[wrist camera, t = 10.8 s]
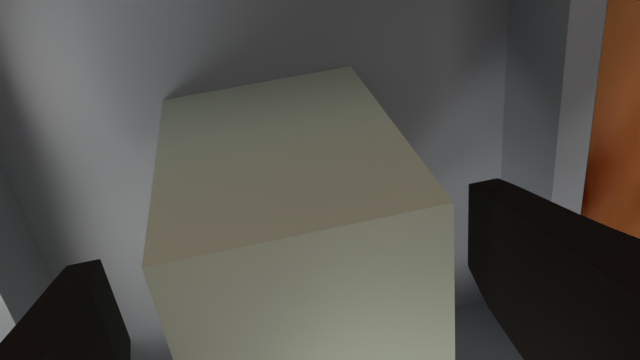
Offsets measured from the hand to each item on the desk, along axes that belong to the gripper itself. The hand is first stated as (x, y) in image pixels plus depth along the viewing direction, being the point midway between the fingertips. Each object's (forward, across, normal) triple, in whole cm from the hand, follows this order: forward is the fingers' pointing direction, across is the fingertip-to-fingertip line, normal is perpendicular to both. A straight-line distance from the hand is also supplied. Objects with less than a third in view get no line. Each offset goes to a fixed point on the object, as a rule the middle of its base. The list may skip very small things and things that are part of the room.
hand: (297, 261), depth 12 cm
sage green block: (+4, 0, 0) cm, 4 cm away
